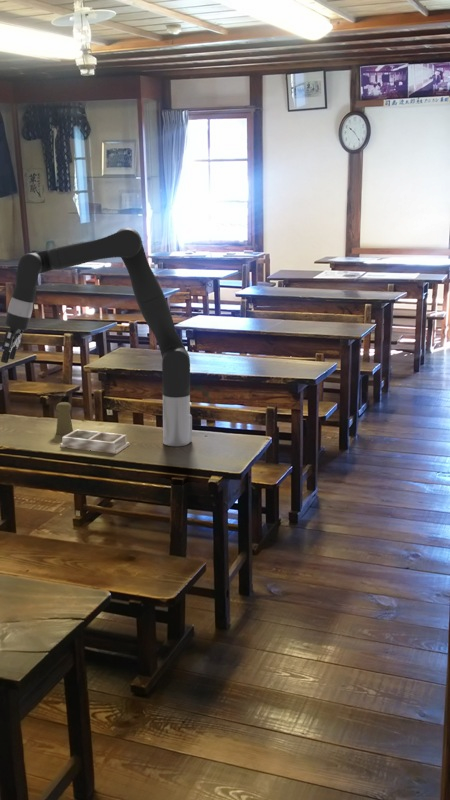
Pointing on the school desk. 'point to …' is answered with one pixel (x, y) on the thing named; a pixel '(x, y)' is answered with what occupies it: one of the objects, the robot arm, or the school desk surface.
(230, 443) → the school desk surface
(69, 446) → the white divided tray
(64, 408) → the cork
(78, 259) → the robot arm
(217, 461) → the school desk surface
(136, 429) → the school desk surface
